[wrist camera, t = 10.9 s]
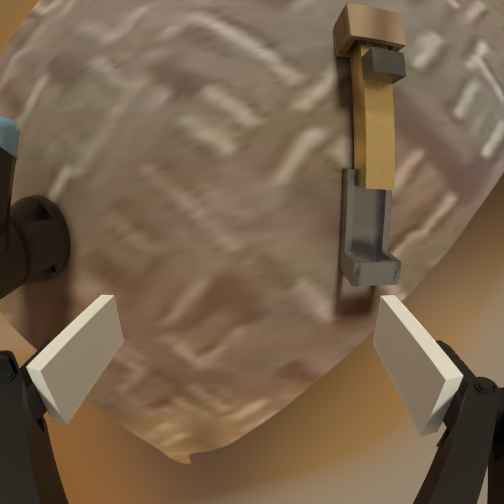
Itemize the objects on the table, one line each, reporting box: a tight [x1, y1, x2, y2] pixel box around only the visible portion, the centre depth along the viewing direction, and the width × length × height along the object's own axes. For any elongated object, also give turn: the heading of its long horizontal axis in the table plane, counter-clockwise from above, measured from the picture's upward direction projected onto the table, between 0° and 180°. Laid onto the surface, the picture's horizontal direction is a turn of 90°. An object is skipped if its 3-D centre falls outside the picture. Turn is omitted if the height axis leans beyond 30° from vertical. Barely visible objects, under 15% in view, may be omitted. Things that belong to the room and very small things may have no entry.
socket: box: [333, 3, 406, 58], centre depth 30 cm, size 7×5×8 cm
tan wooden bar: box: [349, 40, 406, 190], centre depth 31 cm, size 4×22×9 cm, turn 1°
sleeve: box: [339, 169, 401, 286], centre depth 38 cm, size 6×14×7 cm, turn 1°
